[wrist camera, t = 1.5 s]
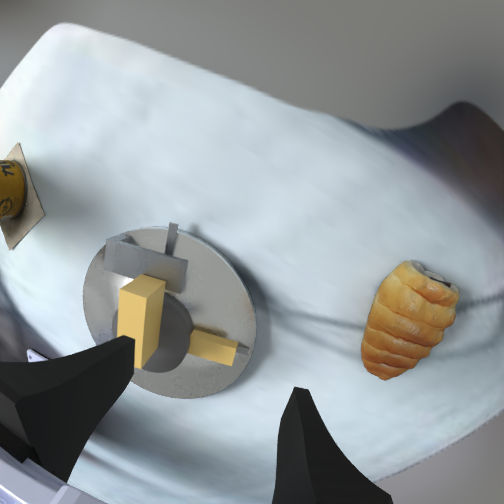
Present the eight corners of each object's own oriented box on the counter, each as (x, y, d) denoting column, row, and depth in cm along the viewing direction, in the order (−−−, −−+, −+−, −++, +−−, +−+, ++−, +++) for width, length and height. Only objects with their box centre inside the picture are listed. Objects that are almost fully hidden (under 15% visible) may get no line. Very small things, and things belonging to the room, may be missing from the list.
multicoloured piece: (228, 380, 23) (214, 422, 18) (122, 345, 24) (92, 376, 19) (250, 293, 21) (239, 326, 16) (128, 258, 22) (91, 278, 17)
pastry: (403, 375, 23) (415, 401, 19) (337, 355, 23) (343, 383, 20) (456, 279, 21) (479, 296, 17) (390, 249, 21) (408, 262, 17)
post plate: (234, 410, 25) (228, 435, 22) (90, 358, 26) (72, 375, 23) (281, 247, 21) (279, 259, 18) (96, 200, 22) (71, 205, 19)
